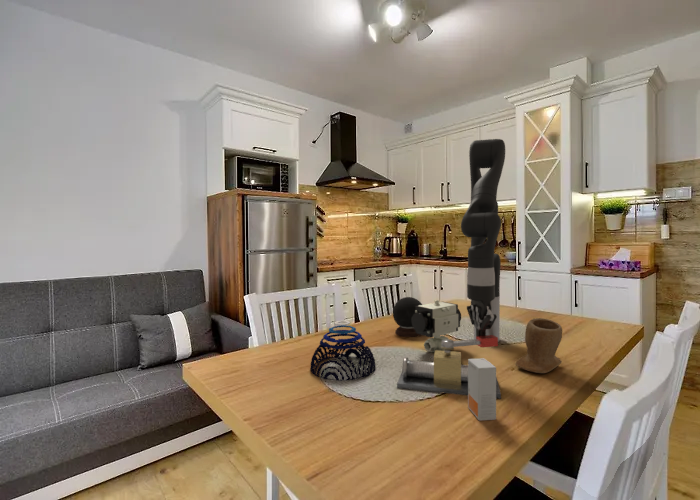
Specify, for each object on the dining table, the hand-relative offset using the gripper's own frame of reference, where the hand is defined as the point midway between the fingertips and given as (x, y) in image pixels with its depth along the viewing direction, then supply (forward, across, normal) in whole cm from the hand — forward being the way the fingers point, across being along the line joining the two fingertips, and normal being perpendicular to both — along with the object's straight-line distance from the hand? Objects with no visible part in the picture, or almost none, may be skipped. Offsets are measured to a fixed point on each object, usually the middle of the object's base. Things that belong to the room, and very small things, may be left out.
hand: (480, 341), depth 106 cm
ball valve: (+11, +23, +3) cm, 25 cm away
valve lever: (0, -4, +6) cm, 7 cm away
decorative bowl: (+10, +14, +38) cm, 42 cm away
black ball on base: (+11, +46, +6) cm, 48 cm away
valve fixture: (+10, -4, +12) cm, 16 cm away
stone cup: (+10, +1, -20) cm, 23 cm away
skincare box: (+9, -21, +12) cm, 26 cm away
